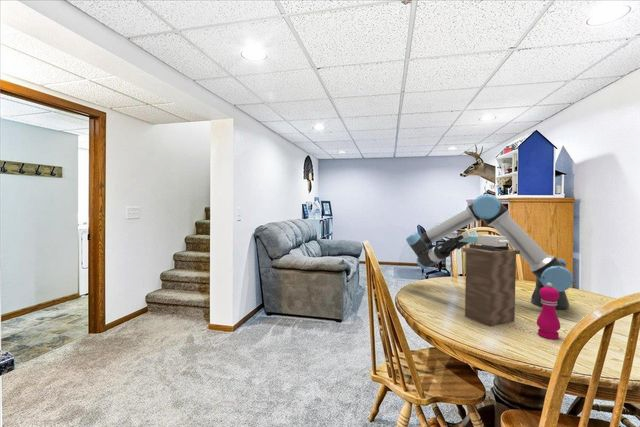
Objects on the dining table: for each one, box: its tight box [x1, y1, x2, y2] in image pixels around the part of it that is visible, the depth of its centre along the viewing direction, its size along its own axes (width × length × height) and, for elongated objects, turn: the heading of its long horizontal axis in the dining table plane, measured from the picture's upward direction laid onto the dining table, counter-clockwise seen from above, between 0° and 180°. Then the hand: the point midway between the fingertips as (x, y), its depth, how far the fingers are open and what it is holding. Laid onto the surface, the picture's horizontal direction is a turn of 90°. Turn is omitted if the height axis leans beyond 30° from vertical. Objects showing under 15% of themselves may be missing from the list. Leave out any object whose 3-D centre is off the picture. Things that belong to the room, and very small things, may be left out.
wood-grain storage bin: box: [462, 243, 520, 327], centre depth 135 cm, size 17×14×32 cm
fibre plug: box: [457, 234, 509, 247], centre depth 139 cm, size 6×23×4 cm, turn 23°
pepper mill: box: [536, 283, 561, 340], centre depth 118 cm, size 7×7×20 cm
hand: (472, 233), depth 144 cm, fingers closed on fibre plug, 4 cm apart
